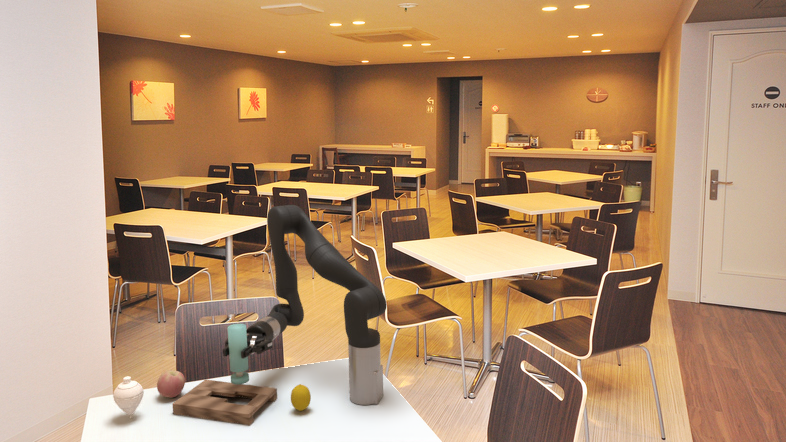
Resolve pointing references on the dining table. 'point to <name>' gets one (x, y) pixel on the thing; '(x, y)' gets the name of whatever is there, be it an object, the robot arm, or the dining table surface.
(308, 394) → the lemon
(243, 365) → the headed peg
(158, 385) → the apple
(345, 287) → the robot arm
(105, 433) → the dining table surface
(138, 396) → the spinning top
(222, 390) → the keyhole plate
